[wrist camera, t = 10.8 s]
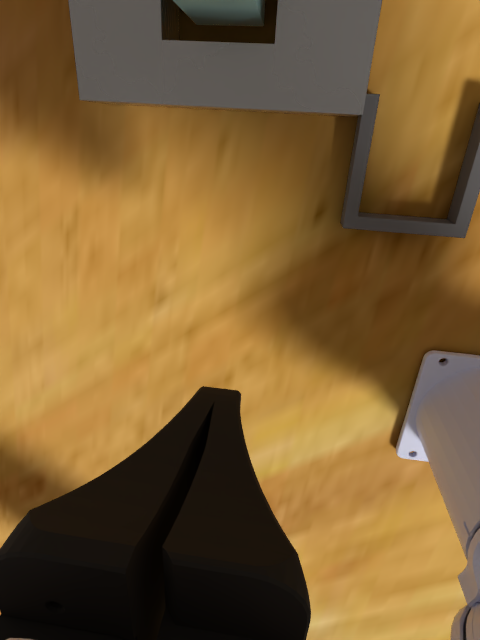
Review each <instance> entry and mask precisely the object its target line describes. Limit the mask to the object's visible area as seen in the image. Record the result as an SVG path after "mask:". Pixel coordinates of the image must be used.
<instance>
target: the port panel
mask: <svg viewBox="0 0 480 640" xmlns="http://www.w3.org/2000/svg"><path fill="white" fill-rule="evenodd" d="M68 1H69V10H70V19H71V28H72V36H73V45H74V54H75V63H76V72H77V80H78V89H79V98H80V100H83V101H91V102H98V103H105V104H121V105H140V106H159V107H178V108H196V109H215V110H234V111H253V112H271V113H290V114H309V115H328V116H346V117H356V116H360V115H363V110H364V104H365V98H366V93H367V87H368V81H369V75H370V69H371V63H372V57H373V51H374V45H375V39H376V33H377V28H378V22H379V16H380V10H381V4H382V0H278V7H277V20H276V33H275V44H261V43H233V42H205V41H180V36H179V6H178V5H177V4H176V3H175V2H174V1H173V0H68Z"/></svg>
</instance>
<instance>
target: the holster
mask: <svg viewBox="0 0 480 640" xmlns="http://www.w3.org/2000/svg"><path fill="white" fill-rule="evenodd" d="M379 97H380V94H366V98H365V104H364V110H363V115H360V116H358V120H357V126H356V132H355V138H354V144H353V150H352V156H351V162H350V169H349V175H348V181H347V187H346V193H345V199H344V205H343V211H342V217H341V225H342V227H343V228H348V229H360V230H372V231H385V232H397V233H409V234H421V235H434V236H446V237H458V238H465V236H466V233H467V230H468V227H469V224H470V220H471V217H472V214H473V211H474V207H475V204H476V201H477V198H478V195H479V191H480V104H479V108H478V111H477V115H476V118H475V122H474V125H473V129H472V132H471V136H470V140H469V143H468V147H467V150H466V154H465V157H464V161H463V164H462V168H461V171H460V175H459V178H458V182H457V185H456V189H455V192H454V196H453V200H452V203H451V207H450V210H449V214H448V217H447V219H439V218H426V217H413V216H400V215H387V214H374V213H361V212H359V206H360V201H361V195H362V190H363V184H364V179H365V173H366V168H367V163H368V157H369V152H370V146H371V141H372V135H373V130H374V124H375V119H376V113H377V108H378V102H379Z"/></svg>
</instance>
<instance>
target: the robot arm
mask: <svg viewBox="0 0 480 640" xmlns="http://www.w3.org/2000/svg"><path fill="white" fill-rule="evenodd" d="M442 358H446V360H445V361H444V362H439V360H440V359H442ZM240 403H241V393H240V392H239V391H236V390H228V389H220V388H212V387H204V386H203V387H201V388H200V389H199V390H198V391H197V392H196V394H195V395H194V396H193V397H192V398H191V400H190V401H189V402H188V403H187V404H186V405H185V406H184V407H183V408H182V410H181V411H180V412H179V413H178V414H177V415H176V416H175V417H174V418H173V419H172V420H171V421H170V422H169V423H168V424H167V425H166V426H165V427H164V428H163V429H161V430H160V431H159V432H158V433H157V434H156V435H155V436H154V437H153V438H152V439H150V440H149V441H148V442H147V443H146V444H144V445H143V446H142V447H141V448H140V449H138V450H137V451H136V452H134V453H133V454H132V455H130V456H129V457H128V458H126V459H125V460H123V461H122V462H120V463H119V464H118V465H116V466H115V467H113V468H112V469H110V470H109V471H107V472H105V473H104V474H102V475H101V476H99V477H97V478H95V479H94V480H92V481H90V482H88V483H87V484H85V485H83V486H81V487H79V488H77V489H75V490H73V491H71V492H69V493H67V494H65V495H63V496H61V497H59V498H57V499H54V500H52V501H50V502H48V503H45V504H43V505H41V506H39V507H36V508H34V509H32V510H30V511H29V512H28V513H27V515H26V516H25V517H24V518H23V519H22V520H21V522H20V523H19V524H18V525H17V526H16V528H15V529H14V530H13V532H12V533H11V534H10V536H9V537H8V539H7V540H6V541H5V543H4V544H3V546H2V547H1V549H0V611H1V615H0V640H306V637H307V633H308V628H309V624H310V618H311V609H310V601H309V595H308V590H307V585H306V581H305V578H304V574H303V570H302V567H301V564H300V560H299V557H298V554H297V552H296V550H295V549H294V547H293V546H292V544H291V543H290V541H289V540H288V538H287V536H286V535H285V533H284V532H283V530H282V528H281V526H280V525H279V523H278V521H277V519H276V518H275V516H274V514H273V512H272V510H271V508H270V506H269V504H268V502H267V500H266V498H265V496H264V494H263V492H262V489H261V487H260V485H259V482H258V480H257V477H256V475H255V472H254V469H253V466H252V463H251V460H250V457H249V454H248V450H247V447H246V443H245V439H244V434H243V429H242V424H241V417H240ZM411 451H415V452H413V453H410V452H411ZM396 453H397V455H398V456H399V457H401V458H405V459H413V460H420V461H427V462H429V464H430V466H431V469H432V471H433V474H434V477H435V479H436V482H437V484H438V487H439V489H440V492H441V495H442V497H443V500H444V502H445V505H446V507H447V510H448V513H449V515H450V518H451V520H452V523H453V525H454V528H455V531H456V533H457V536H458V538H459V541H460V543H461V546H462V549H463V551H464V554H465V556H466V559H467V561H468V562H467V566H466V568H465V569H464V571H463V572H462V573H460V574H459V575H458V579H459V582H460V585H461V588H462V590H463V593H464V596H465V599H466V602H467V606H465V607H464V608H462V609H460V611H459V612H458V613H457V614H456V616H455V617H454V620H453V623H452V627H451V640H480V355H472V354H463V353H454V352H445V351H436V350H433V351H429V352H427V353H426V354H425V355H424V357H423V360H422V363H421V367H420V370H419V373H418V377H417V380H416V383H415V386H414V390H413V393H412V396H411V400H410V403H409V406H408V409H407V413H406V416H405V419H404V423H403V426H402V429H401V432H400V436H399V439H398V442H397V446H396Z"/></svg>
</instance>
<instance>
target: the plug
mask: <svg viewBox="0 0 480 640" xmlns="http://www.w3.org/2000/svg"><path fill="white" fill-rule="evenodd" d="M173 1H174V2H175V3H176V4H177V5H178V6H179V7H180V8H181V9H182V10H183V11H184V12H185V14H186V15H187V16H188V17H189V18H190V19H191V20H192V21H193V22H194V23H195V24H196V25H223V26H264V16H265V0H173Z"/></svg>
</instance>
